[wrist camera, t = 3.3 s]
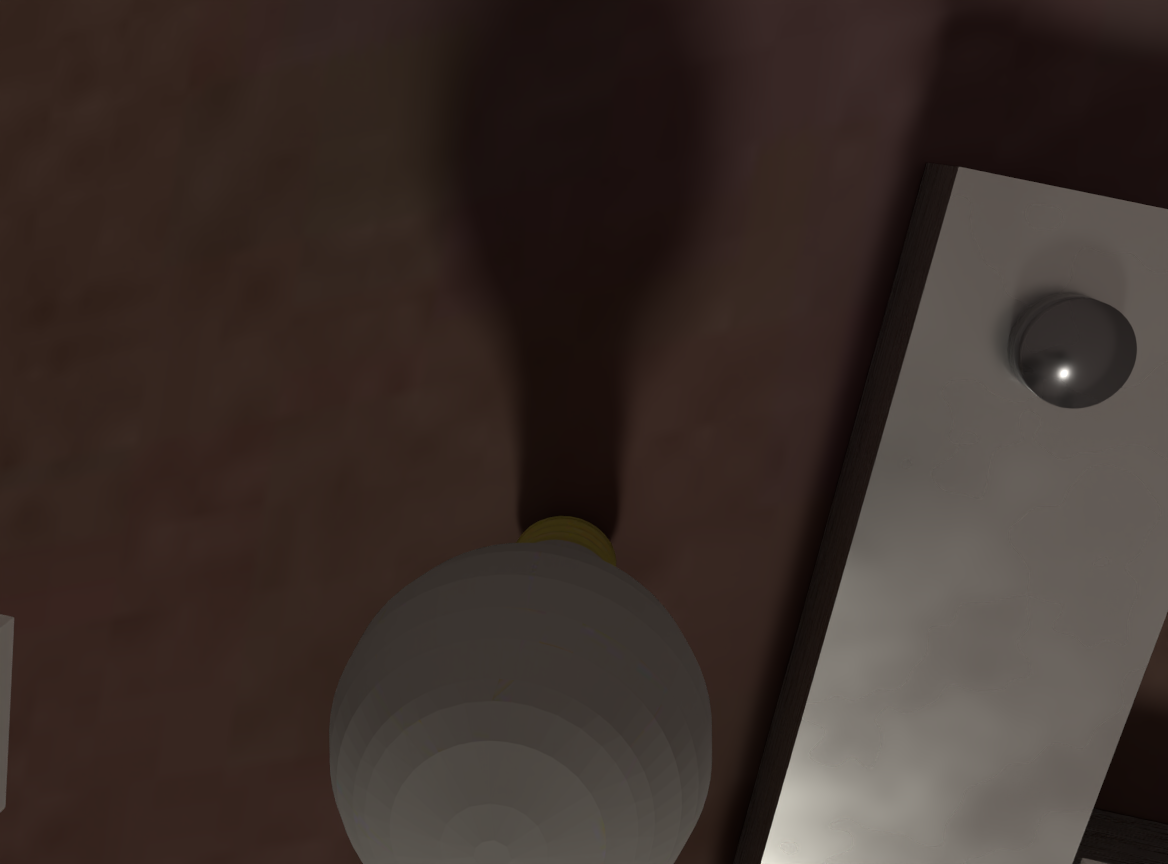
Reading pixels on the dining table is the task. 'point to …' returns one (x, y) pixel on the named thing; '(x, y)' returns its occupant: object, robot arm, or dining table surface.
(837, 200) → the dining table surface
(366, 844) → the light bulb
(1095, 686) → the flange
